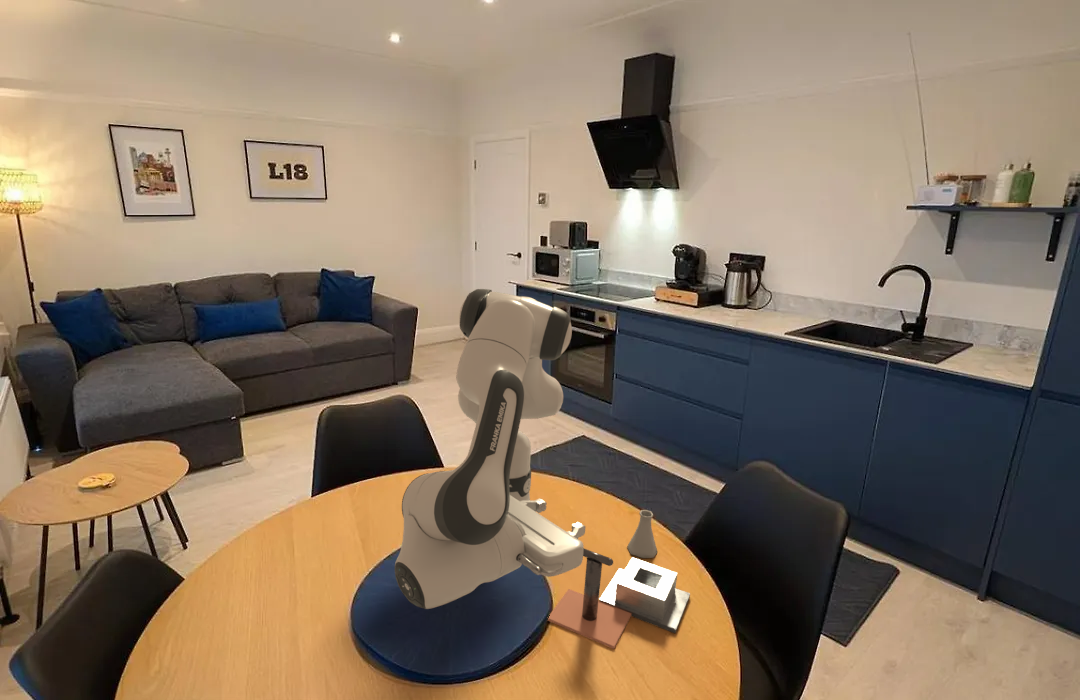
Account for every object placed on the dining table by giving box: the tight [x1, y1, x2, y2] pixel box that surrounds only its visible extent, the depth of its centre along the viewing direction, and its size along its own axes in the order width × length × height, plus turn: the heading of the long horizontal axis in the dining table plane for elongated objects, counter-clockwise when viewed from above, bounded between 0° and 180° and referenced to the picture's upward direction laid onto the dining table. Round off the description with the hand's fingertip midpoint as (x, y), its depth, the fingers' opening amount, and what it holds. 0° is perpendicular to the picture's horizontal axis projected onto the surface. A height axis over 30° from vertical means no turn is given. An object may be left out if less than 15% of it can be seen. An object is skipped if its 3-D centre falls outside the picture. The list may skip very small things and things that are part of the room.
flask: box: [627, 509, 658, 559], centre depth 131 cm, size 7×7×10 cm
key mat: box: [547, 588, 632, 650], centre depth 109 cm, size 14×10×1 cm
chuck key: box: [582, 547, 614, 621], centre depth 107 cm, size 7×3×14 cm, turn 62°
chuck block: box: [599, 556, 691, 634], centre depth 115 cm, size 16×12×6 cm
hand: (562, 515), depth 94 cm, fingers open, 8 cm apart
